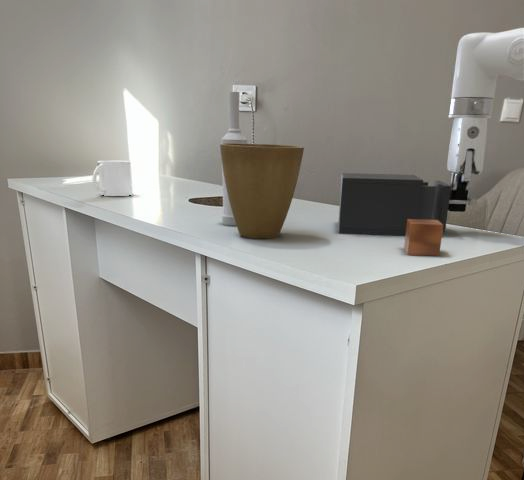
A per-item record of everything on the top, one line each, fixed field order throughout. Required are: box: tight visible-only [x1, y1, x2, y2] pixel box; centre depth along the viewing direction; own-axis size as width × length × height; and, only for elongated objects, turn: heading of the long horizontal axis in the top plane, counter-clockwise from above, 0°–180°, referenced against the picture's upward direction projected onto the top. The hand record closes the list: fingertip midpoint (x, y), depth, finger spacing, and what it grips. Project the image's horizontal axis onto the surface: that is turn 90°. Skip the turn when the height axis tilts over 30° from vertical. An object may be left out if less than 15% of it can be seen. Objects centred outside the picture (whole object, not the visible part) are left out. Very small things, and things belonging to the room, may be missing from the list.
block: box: [403, 219, 443, 257], centre depth 91 cm, size 5×5×5 cm
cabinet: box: [337, 172, 424, 237], centre depth 111 cm, size 15×13×10 cm
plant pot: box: [219, 142, 305, 239], centre depth 101 cm, size 15×15×16 cm
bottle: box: [220, 91, 248, 227], centre depth 111 cm, size 5×5×25 cm
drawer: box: [419, 180, 478, 233], centre depth 110 cm, size 19×12×8 cm, turn 83°
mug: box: [91, 159, 134, 197], centre depth 158 cm, size 12×9×9 cm
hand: (456, 210), depth 110 cm, fingers closed
